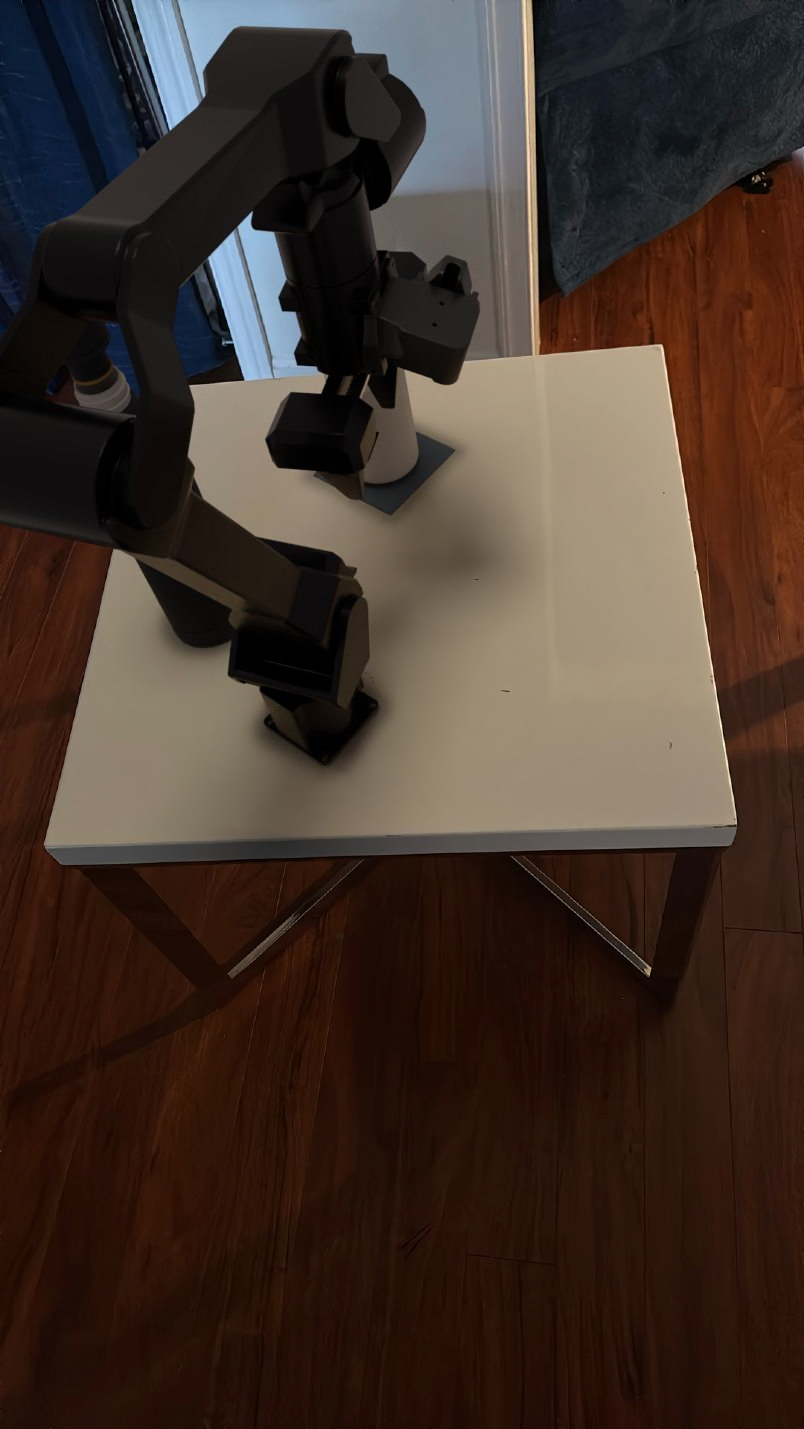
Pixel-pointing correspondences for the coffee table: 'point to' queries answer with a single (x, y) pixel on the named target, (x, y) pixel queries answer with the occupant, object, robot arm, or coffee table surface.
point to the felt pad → (406, 476)
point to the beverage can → (392, 437)
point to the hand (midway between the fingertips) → (373, 451)
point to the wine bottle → (183, 605)
